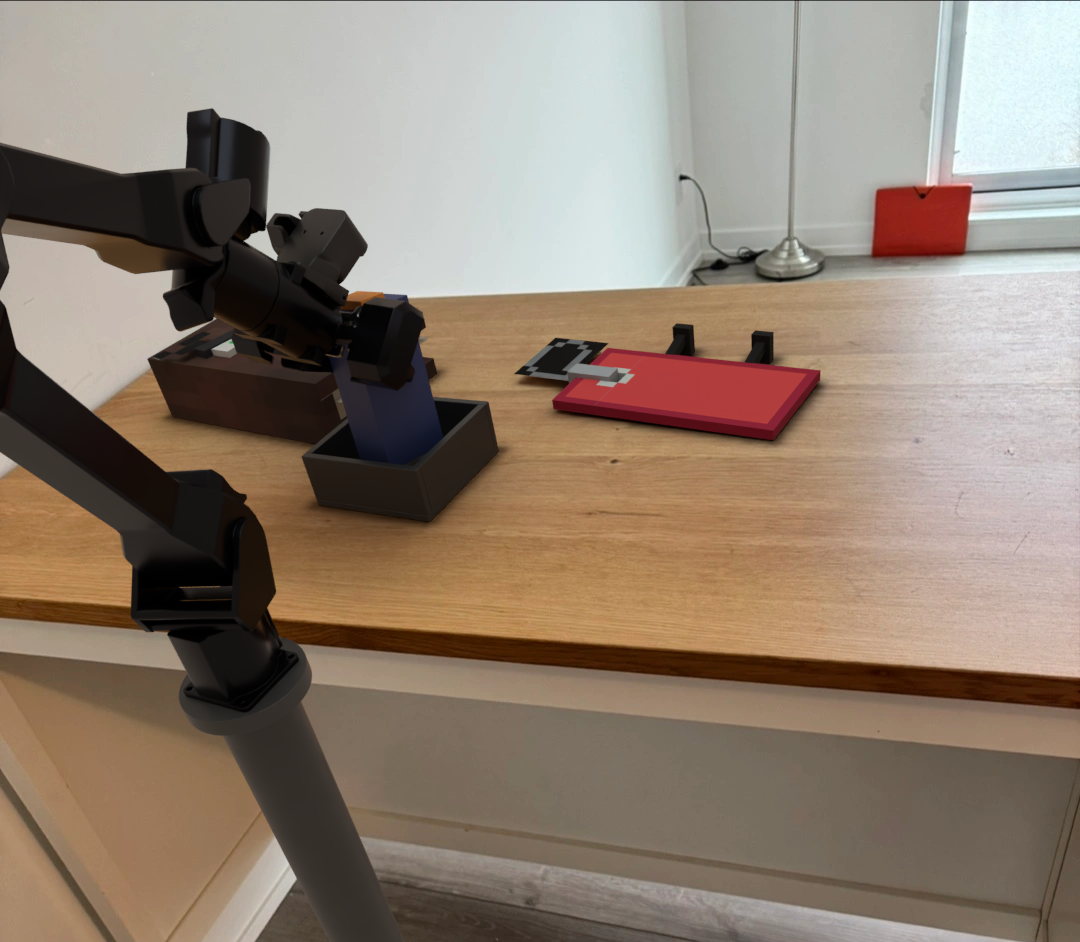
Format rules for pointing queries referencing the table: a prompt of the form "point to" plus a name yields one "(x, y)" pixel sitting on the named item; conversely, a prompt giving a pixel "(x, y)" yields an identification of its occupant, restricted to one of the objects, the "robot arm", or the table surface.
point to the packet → (388, 406)
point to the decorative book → (248, 388)
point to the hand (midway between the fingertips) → (392, 371)
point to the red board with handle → (677, 384)
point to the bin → (405, 466)
